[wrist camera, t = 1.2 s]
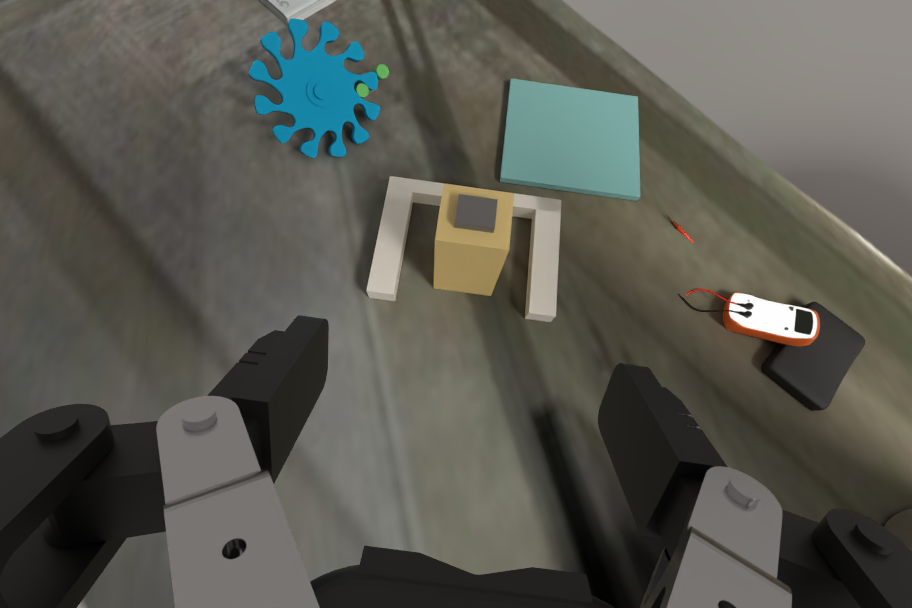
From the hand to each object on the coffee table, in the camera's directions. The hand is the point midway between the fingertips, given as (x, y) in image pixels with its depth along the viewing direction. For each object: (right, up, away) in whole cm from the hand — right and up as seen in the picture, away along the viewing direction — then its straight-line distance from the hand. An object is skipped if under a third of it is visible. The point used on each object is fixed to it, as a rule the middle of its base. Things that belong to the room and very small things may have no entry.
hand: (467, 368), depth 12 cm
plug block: (0, +5, +22) cm, 22 cm away
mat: (+10, +17, +26) cm, 33 cm away
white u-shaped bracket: (+1, +6, +22) cm, 23 cm away
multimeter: (+21, +1, +23) cm, 31 cm away
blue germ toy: (-11, +18, +26) cm, 33 cm away
